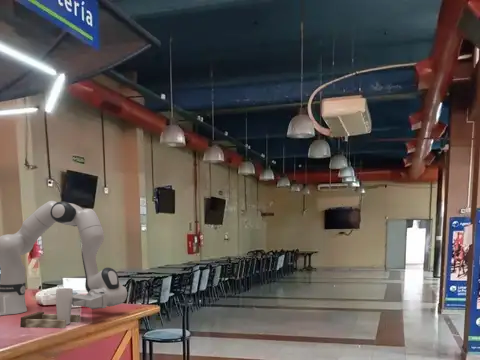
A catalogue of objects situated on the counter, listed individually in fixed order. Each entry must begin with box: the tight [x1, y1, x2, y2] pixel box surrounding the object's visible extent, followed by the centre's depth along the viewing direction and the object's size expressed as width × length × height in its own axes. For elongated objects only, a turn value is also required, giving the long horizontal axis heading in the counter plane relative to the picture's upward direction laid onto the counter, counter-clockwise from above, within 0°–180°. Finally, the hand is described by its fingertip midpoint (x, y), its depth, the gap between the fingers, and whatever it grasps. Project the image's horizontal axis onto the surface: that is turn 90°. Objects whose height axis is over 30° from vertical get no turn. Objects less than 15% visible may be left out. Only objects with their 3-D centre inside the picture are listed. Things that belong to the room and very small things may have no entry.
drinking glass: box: [55, 287, 74, 326], centre depth 196 cm, size 7×7×15 cm
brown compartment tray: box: [19, 311, 81, 329], centre depth 197 cm, size 20×13×4 cm, turn 81°
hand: (67, 303), depth 198 cm, fingers open, 8 cm apart
